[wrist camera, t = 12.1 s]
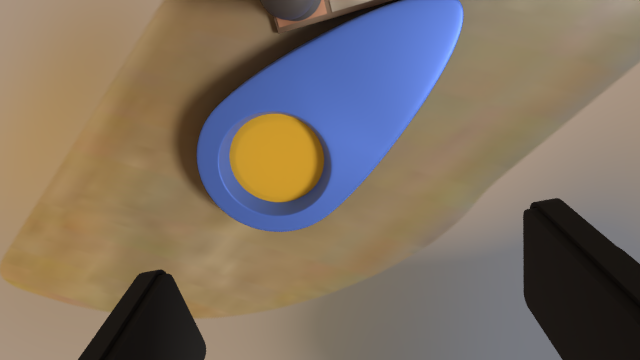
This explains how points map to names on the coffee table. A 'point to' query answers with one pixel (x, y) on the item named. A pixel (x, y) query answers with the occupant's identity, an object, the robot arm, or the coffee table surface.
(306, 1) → the pawn
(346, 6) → the board
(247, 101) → the location marker
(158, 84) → the coffee table surface
